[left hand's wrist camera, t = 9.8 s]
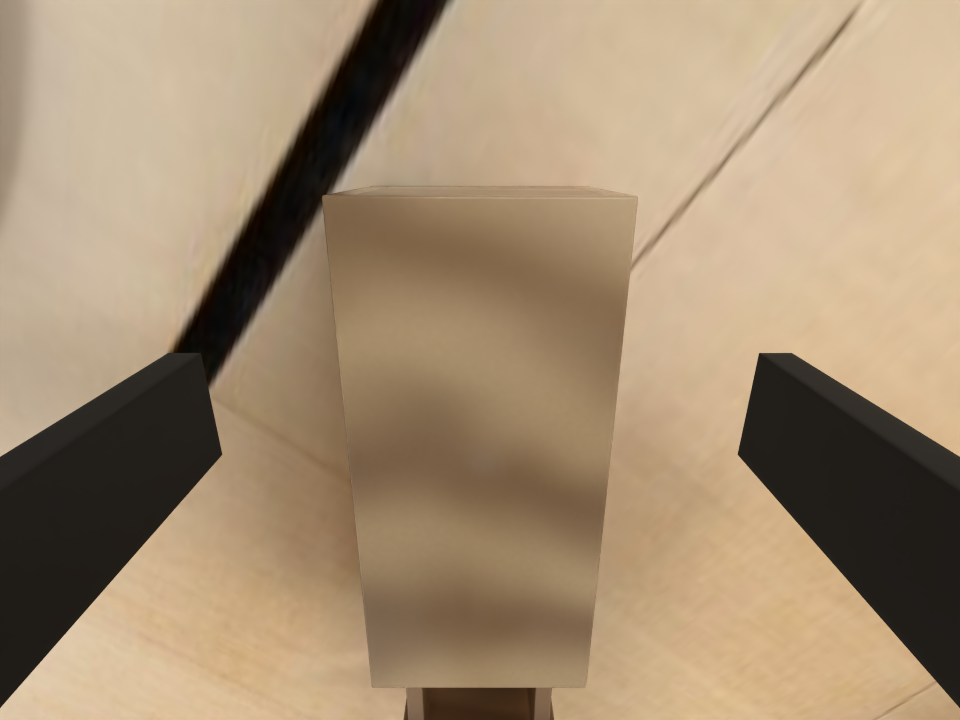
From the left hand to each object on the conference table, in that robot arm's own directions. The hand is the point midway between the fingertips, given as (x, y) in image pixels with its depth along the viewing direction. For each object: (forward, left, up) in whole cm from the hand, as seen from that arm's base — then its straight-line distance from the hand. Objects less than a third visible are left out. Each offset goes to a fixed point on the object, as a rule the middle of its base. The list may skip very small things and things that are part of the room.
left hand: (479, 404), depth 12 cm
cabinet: (+6, -2, -13) cm, 15 cm away
